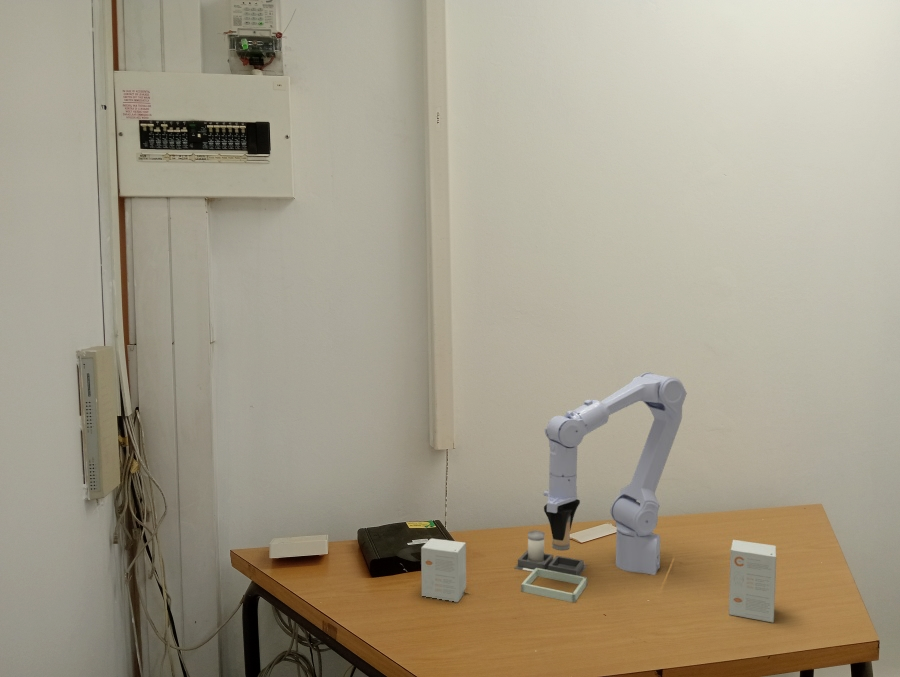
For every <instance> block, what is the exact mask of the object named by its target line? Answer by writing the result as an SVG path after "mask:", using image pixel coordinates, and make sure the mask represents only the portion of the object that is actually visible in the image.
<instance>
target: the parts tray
mask: <svg viewBox="0 0 900 677" xmlns="http://www.w3.org/2000/svg"><path fill="white" fill-rule="evenodd" d="M538 577H540V578H546V579H550V580H555V581H560V582H564V583H569V584H576V585H577V586H576V588H575V590H574V591H573V593H572V592H569V591H563V590H558V589H553V588H548V587H545V586H544V587H543V586H539V585H535V584H534V585H533V584H532V583H533V582H535V580H536V579H537V578H538ZM520 585H521V586H520V592H522V593H527V594H532V595H536V596H542V597H546V598H551V599H554V600H555V599H556V600H561V601H565V602H568V603H569V602H570V603H576V601H577V600H578V599H579V597H580V596H581V594H582V593H583V591H584V590H585V588H586V587H587V585H588V577H586V576H581V575H580V576H576V575H571V574H566V573H561V572H556V571H550V570H545V569H540V568H535V569H534V570H533V572H530V574H529V575H527V577H526V578H525V579H524V580H523V582H522V583H521V584H520Z"/></svg>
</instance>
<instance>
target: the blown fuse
mask: <svg viewBox="0 0 900 677" xmlns="http://www.w3.org/2000/svg"><path fill="white" fill-rule="evenodd" d="M570 517H571V515H569V518H568V521H567V524H566V531H565V536H564V539H563V541H561V540H555V539H553V538H552V542H551V543H552V544H551V548H552V549H554V550H556V551H562V552H563V551H569V550H570V548H571V547H570V546H571V542H570V538H571V537H570V535H571V530H570Z"/></svg>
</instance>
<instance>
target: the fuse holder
mask: <svg viewBox="0 0 900 677" xmlns="http://www.w3.org/2000/svg"><path fill="white" fill-rule="evenodd" d="M527 559H528V549H527V550H525V552H524V553H523V554H522V555H521V556H520V557H519V558H518V559H517V564H516V566H515V567H514V568H513V569H514V570H519V571H525V572H530V573H532V572H533V570H534V569H535V568H540V569H545V570H550V571H556V572H561V573H566V574H571V575H576V576H581V574H582V573H583V572H584V570H585V569H586V568H587V566H588V565H587V564H585V560H583V559H577V558H571V557H567V556H566V557H565V556H561V555H556V556H555V557H554V554H549V553H546V552H544V563H538V562H533V561H528V560H527Z"/></svg>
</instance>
